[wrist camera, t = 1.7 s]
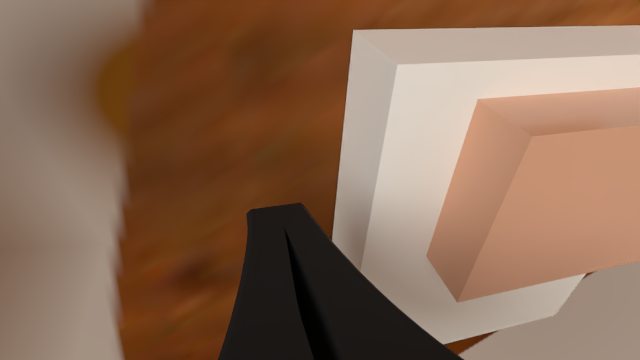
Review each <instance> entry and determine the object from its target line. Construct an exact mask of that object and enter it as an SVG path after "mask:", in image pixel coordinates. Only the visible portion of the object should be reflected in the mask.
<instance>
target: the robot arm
mask: <svg viewBox="0 0 640 360" xmlns="http://www.w3.org/2000/svg"><path fill="white" fill-rule="evenodd" d="M247 225H248V234H247V245H246V253H245V259H244V264H243V270H242V275H241V281H240V285H239V289H238V293H237V297H236V301H235V305H234V309H233V312H232V316H231V320H230V323H229V327H228V330H227V333H226V337H225V340H224V343H223V346H222V349H221V352H220V355H219V358H218V360H464V359H462V358H461V357H459V356H458V355H457V354H455V353H454V352H452V351H451V350H450V349H448V348H447V347H446V346H444V345H443V344H442V343H440V342H439V341H438V340H437V339H435V338H434V337H433V336H432V335H430V334H429V333H428V332H427V331H425V330H424V329H423V328H421V327H420V326H419V325H418V324H417V323H415V322H414V321H413V320H412V319H411V318H410V317H408V316H407V315H406V314H405V313H404V312H402V311H401V310H400V309H399V308H398V307H397V306H396V305H394V304H393V303H392V302H391V301H390V300H389V299H388V298H387V297H386V296H385V295H384V294H382V293H381V292H380V291H379V290H378V289H377V288H376V287H375V286H374V285H373V284H372V283H371V282H370V281H369V280H368V279H367V278H366V277H365V276H364V275H363V274H362V273H361V272H360V271H359V270H358V269H357V268H356V267H355V266H354V265H353V264H352V262H351V261H350V260H349V259H348V258H347V257H346V256H345V255H344V254H343V253H342V252H341V251H340V249H339V248H338V247H337V246H336V245H335V244H334V243H333V242H332V240H331V239H330V238H329V237H328V236H327V234H326V233H325V232H324V231H323V230H322V228H321V227H320V226H319V225H318V223H317V222H316V221H315V220H314V218H313V217H312V216H311V214H310V213H309V212H308V210H307V209H306V208H305V206H304V205H302V204H301V203H295V204H288V205H281V206H273V207H266V208H258V209H251V210H250V211H249V212H248V213H247Z"/></svg>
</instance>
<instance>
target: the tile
mask: <svg viewBox="0 0 640 360" xmlns="http://www.w3.org/2000/svg"><path fill="white" fill-rule="evenodd" d="M426 256H427V258H428V259H429V261H430V262H431V264H432V265H433V267H434V268H435V270H436V271H437V273H438V274H439V276H440V277H441V279H442V280H443V282H444V283H445V285H446V286H447V288H448V290H449V291H450V293H451V294H452V296H453V297H454V299H455V300H456V302H457V303H458V302H462V301H467V300H471V299H476V298H480V297H484V296H489V295H493V294H497V293H502V292H506V291H511V290H515V289H519V288H524V287H528V286H533V285H537V284H541V283H546V282H550V281H554V280H559V279H563V278H568V277H572V276H576V275H581V274H585V273H589V272H594V271H598V270H602V269H607V268H611V267H616V266H620V265H624V264H629V263H633V262H638V261H640V87H637V88H623V89H609V90H596V91H582V92H568V93H554V94H540V95H526V96H512V97H498V98H485V99H478V100H477V103H476V106H475V109H474V112H473V115H472V118H471V121H470V124H469V127H468V130H467V133H466V136H465V139H464V142H463V145H462V149H461V152H460V155H459V158H458V161H457V164H456V167H455V170H454V173H453V176H452V179H451V182H450V185H449V188H448V191H447V194H446V197H445V200H444V203H443V206H442V209H441V212H440V215H439V218H438V222H437V225H436V228H435V231H434V234H433V237H432V240H431V243H430V246H429V249H428V252H427V255H426Z"/></svg>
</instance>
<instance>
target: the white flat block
mask: <svg viewBox="0 0 640 360" xmlns="http://www.w3.org/2000/svg"><path fill="white" fill-rule="evenodd" d="M637 87H640V25H631V26H569V27H508V28H447V29H386V30H353V38H352V48H351V58H350V68H349V78H348V87H347V97H346V107H345V117H344V127H343V136H342V146H341V156H340V166H339V176H338V186H337V195H336V205H335V215H334V225H333V235H332V242H333V243H334V244H335V245H336V246H337V247H338V248H339V249H340V251H341V252H342V253H343V254H344V255H345V256H346V257H347V258H348V259H349V260H350V261H351V262H352V264H353V265H354V266H355V267H356V268H357V269H358V270H359V271H360V272H361V273H362V274H363V275H364V276H365V277H366V278H367V279H368V280H369V281H370V282H371V283H372V284H373V285H374V286H375V287H376V288H377V289H378V290H379V291H380V292H381V293H382V294H384V295H385V296H386V297H387V298H388V299H389V300H390V301H391V302H392V303H393V304H394V305H396V306H397V307H398V308H399V309H400V310H401V311H402V312H404V313H405V314H406V315H407V316H408V317H410V318H411V319H412V320H413V321H414V322H415V323H417V324H418V325H419V326H420V327H421V328H423V329H424V330H425V331H427V332H428V333H429V334H430V335H432V336H433V337H434V338H435V339H437V340H438V341H439V342H440V343H442V344H446V343H450V342H454V341H458V340H462V339H466V338H470V337H474V336H477V335H481V334H485V333H489V332H493V331H497V330H501V329H504V328H508V327H512V326H516V325H520V324H524V323H528V322H532V321H535V320H539V319H543V318H547V317H551V316H555V315H556V313H557V312H558V311H559V309H560V308H561V307H562V305H563V304H564V303H565V301H566V300H567V299H568V297H569V296H570V294H571V293H572V292H573V290H574V289H575V288H576V286H577V285H578V284H579V282H580V281H581V280H582V278H583V277H584V276H585V274H586V273H585V274H581V275H576V276H572V277H568V278H563V279H559V280H554V281H550V282H546V283H541V284H537V285H533V286H528V287H524V288H519V289H515V290H511V291H506V292H502V293H497V294H493V295H489V296H484V297H480V298H476V299H471V300H467V301H462V302H458V303H457V302H456V300H455V299H454V297H453V296H452V294H451V293H450V291H449V290H448V288H447V286H446V285H445V283H444V282H443V280H442V279H441V277H440V276H439V274H438V273H437V271H436V270H435V268H434V267H433V265H432V264H431V262H430V261H429V259H428V258H427V256H426V255H427V252H428V249H429V246H430V243H431V240H432V237H433V234H434V231H435V228H436V225H437V222H438V218H439V215H440V212H441V209H442V206H443V203H444V200H445V197H446V194H447V191H448V188H449V185H450V182H451V179H452V176H453V173H454V170H455V167H456V164H457V161H458V158H459V155H460V152H461V149H462V145H463V142H464V139H465V136H466V133H467V130H468V127H469V124H470V121H471V118H472V115H473V112H474V109H475V106H476V103H477V100H478V99H485V98H498V97H512V96H526V95H540V94H554V93H568V92H582V91H596V90H609V89H623V88H637Z"/></svg>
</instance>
